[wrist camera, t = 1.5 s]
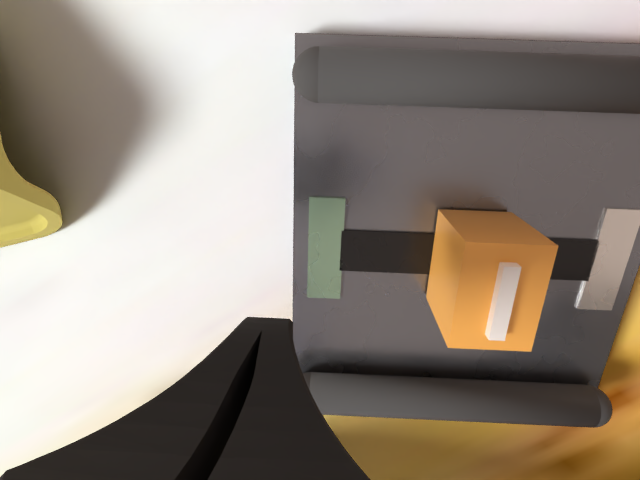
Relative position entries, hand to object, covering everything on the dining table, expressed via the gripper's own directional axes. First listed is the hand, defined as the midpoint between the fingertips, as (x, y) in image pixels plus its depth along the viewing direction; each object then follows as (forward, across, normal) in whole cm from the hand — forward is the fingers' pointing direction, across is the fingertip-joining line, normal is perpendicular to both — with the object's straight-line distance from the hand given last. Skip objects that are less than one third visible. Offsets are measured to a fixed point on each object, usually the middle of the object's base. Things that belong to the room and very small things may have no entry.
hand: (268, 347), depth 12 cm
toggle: (+8, -8, 0) cm, 11 cm away
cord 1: (+8, -8, +8) cm, 14 cm away
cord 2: (+8, -8, -7) cm, 13 cm away
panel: (+9, -8, 0) cm, 12 cm away
